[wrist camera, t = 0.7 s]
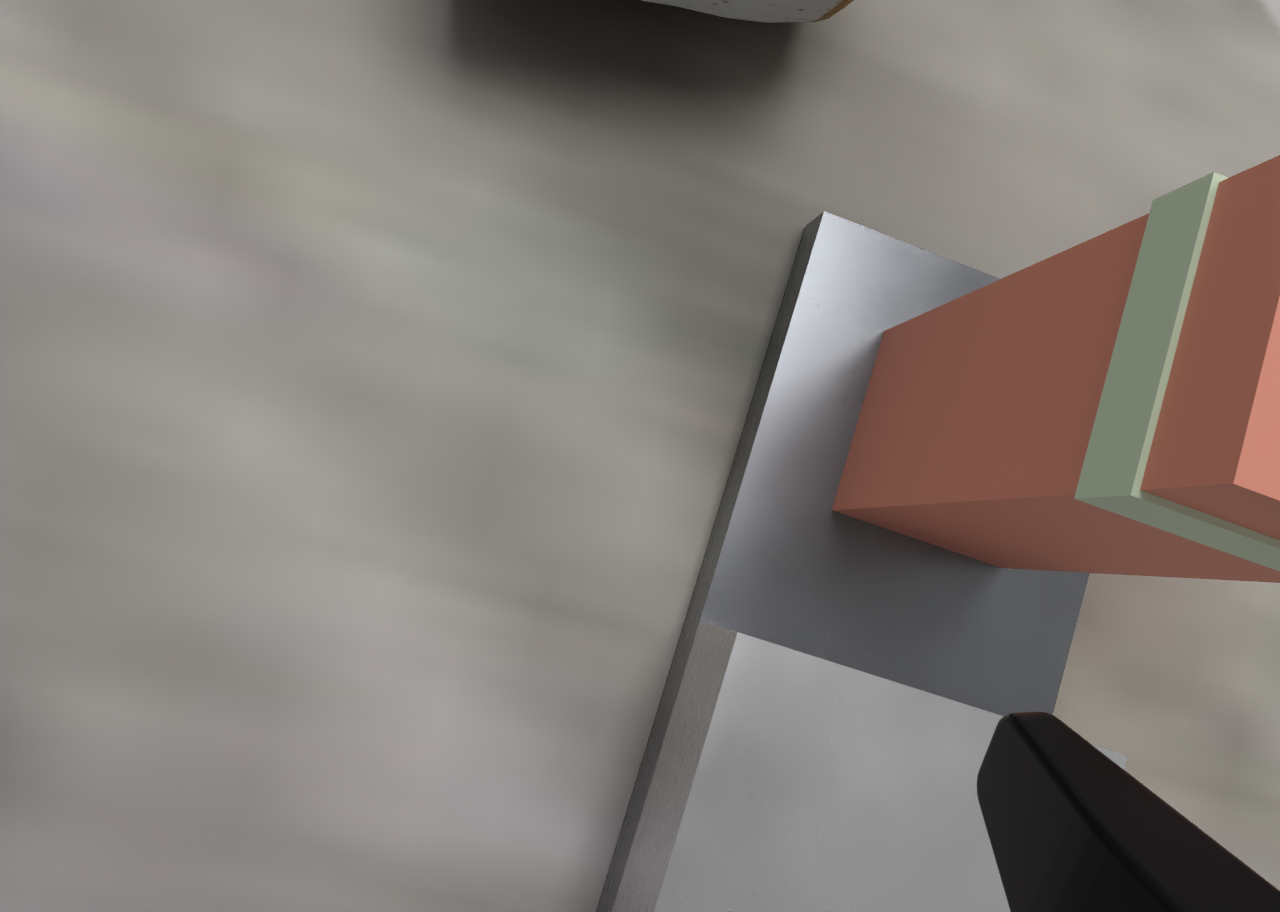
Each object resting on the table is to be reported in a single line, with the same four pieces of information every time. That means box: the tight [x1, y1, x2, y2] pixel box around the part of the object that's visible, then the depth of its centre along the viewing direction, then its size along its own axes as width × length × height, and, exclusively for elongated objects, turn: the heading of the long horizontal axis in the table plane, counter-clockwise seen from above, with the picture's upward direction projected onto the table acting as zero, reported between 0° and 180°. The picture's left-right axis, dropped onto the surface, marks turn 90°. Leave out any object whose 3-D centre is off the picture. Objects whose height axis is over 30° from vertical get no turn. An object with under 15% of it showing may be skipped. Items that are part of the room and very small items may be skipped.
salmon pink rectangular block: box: [832, 155, 1280, 583], centre depth 19 cm, size 4×4×12 cm
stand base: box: [596, 211, 1128, 912], centre depth 23 cm, size 16×8×4 cm, turn 162°
